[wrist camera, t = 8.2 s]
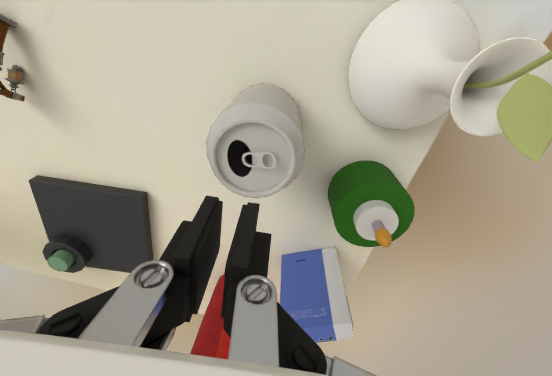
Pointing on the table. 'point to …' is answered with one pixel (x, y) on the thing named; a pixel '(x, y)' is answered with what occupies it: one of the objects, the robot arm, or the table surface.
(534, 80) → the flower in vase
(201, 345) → the coffee cup
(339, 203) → the candle
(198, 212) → the robot arm
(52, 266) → the button
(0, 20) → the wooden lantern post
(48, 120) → the table surface
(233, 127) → the can
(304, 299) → the walkman
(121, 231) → the dark grey flat block
